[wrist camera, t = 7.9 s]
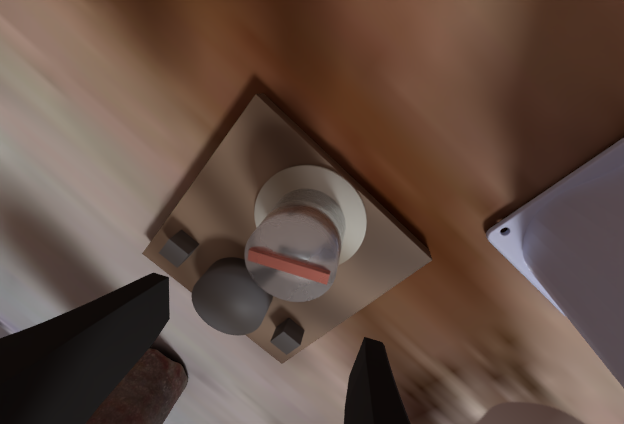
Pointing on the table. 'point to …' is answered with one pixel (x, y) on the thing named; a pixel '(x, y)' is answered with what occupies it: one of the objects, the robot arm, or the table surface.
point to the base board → (248, 216)
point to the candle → (144, 392)
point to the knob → (297, 246)
